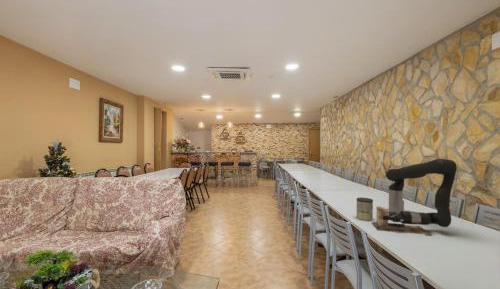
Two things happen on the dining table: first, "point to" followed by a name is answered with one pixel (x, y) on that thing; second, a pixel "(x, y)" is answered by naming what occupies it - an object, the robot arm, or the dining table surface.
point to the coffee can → (365, 209)
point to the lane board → (402, 228)
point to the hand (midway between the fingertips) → (380, 215)
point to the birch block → (380, 213)
